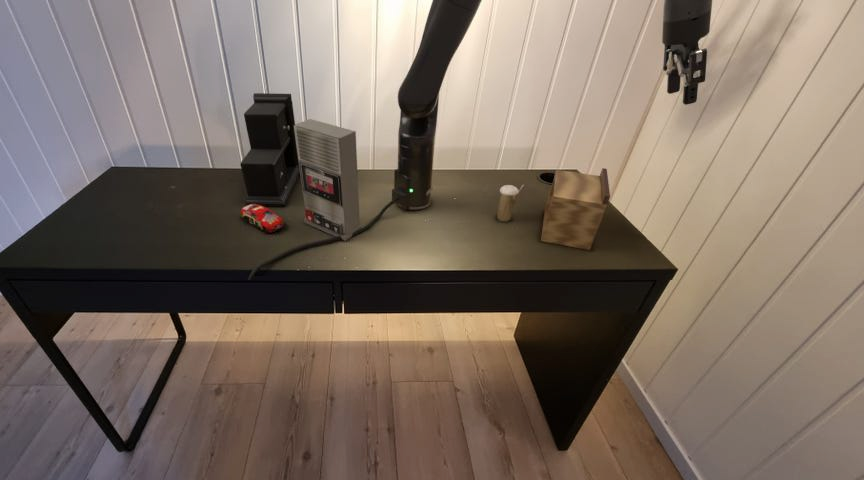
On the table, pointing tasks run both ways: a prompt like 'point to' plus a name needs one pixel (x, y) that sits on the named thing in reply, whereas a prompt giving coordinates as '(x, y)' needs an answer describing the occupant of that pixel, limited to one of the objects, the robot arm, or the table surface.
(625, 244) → the table surface
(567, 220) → the block
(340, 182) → the cassette tape recorder
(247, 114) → the bookend
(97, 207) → the table surface
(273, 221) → the race car
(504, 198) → the milkshake
